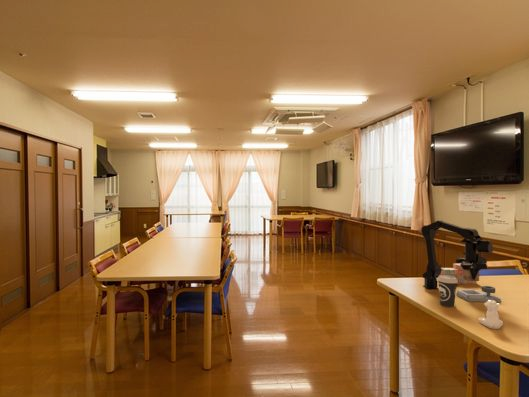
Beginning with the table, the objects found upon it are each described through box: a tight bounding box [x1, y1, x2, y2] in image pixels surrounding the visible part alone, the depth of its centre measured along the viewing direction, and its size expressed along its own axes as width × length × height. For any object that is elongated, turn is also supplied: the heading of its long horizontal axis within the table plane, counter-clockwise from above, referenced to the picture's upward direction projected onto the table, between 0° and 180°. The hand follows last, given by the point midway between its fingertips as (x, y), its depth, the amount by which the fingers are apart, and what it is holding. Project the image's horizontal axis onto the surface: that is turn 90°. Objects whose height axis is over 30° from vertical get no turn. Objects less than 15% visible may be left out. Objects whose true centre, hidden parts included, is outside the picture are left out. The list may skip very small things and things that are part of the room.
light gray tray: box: [455, 289, 502, 302], centre depth 182 cm, size 18×11×5 cm, turn 90°
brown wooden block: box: [463, 270, 480, 282], centre depth 182 cm, size 6×4×6 cm
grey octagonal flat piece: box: [481, 285, 496, 294], centre depth 182 cm, size 6×6×2 cm
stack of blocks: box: [439, 263, 478, 285], centre depth 215 cm, size 21×6×12 cm, turn 90°
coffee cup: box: [437, 275, 458, 308], centre depth 170 cm, size 10×10×15 cm
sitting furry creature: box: [478, 300, 504, 330], centre depth 142 cm, size 10×9×12 cm
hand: (471, 278), depth 182 cm, fingers closed on brown wooden block, 4 cm apart
